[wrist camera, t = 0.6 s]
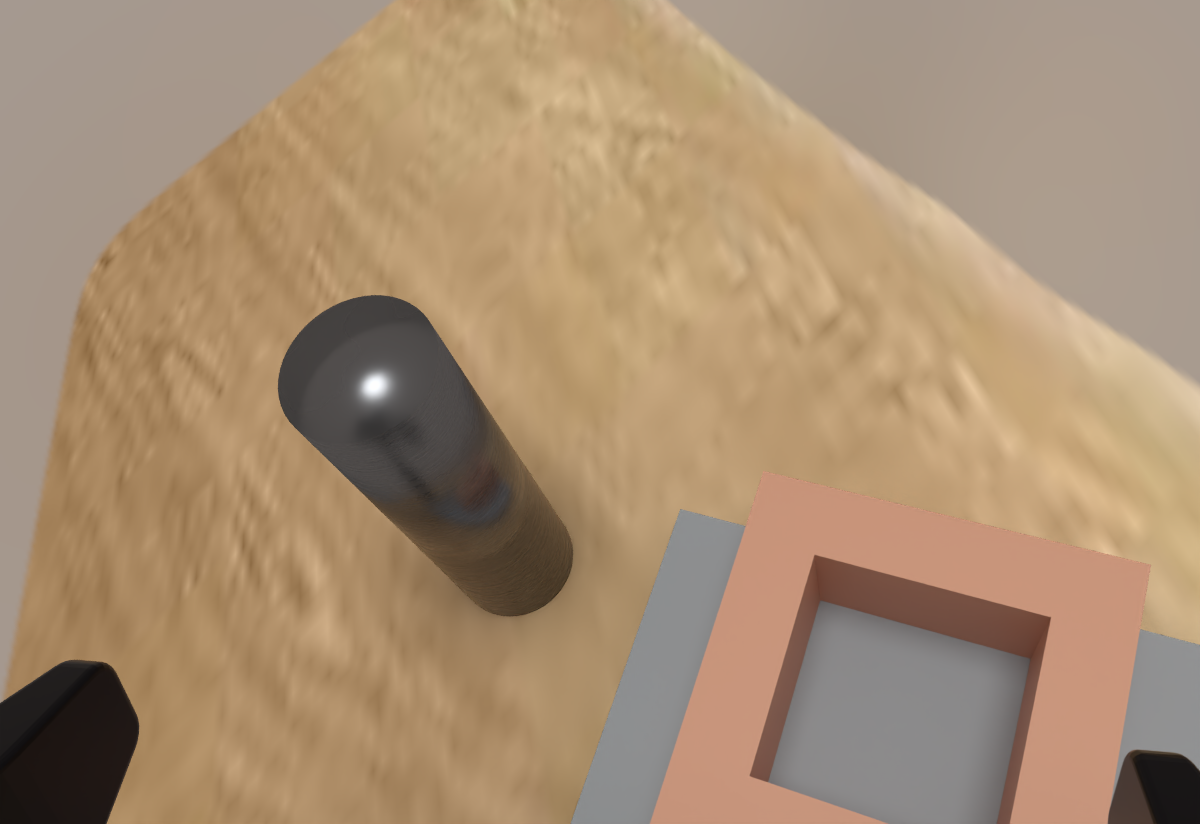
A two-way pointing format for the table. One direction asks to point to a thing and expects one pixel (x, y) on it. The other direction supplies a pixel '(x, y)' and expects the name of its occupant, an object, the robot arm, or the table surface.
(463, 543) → the peg
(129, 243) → the table surface
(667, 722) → the socket base
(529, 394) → the table surface
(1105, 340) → the table surface
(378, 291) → the table surface
